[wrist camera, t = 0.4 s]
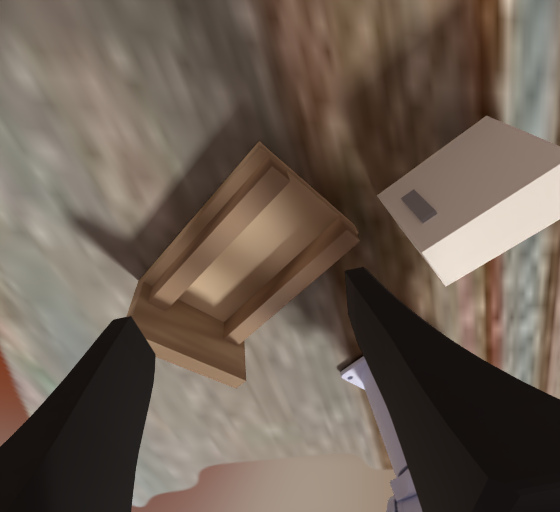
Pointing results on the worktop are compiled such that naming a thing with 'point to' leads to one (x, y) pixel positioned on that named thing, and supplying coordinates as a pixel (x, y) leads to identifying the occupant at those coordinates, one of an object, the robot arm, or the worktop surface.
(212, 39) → the worktop surface
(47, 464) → the robot arm
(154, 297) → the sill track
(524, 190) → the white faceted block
